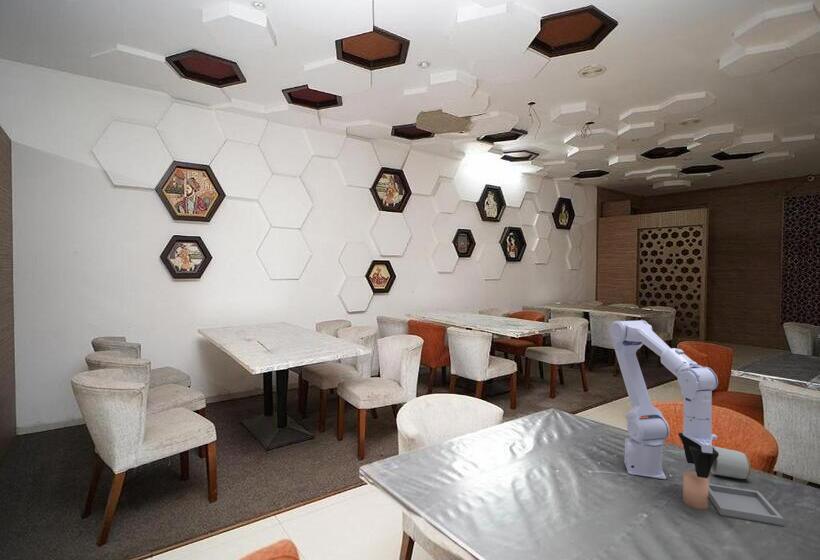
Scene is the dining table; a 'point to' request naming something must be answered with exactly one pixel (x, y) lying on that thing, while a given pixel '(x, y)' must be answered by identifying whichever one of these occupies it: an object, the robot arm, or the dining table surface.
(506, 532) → the dining table surface
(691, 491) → the pink pillar candle
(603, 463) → the dining table surface
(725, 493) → the tray
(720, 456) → the ceramic mug
